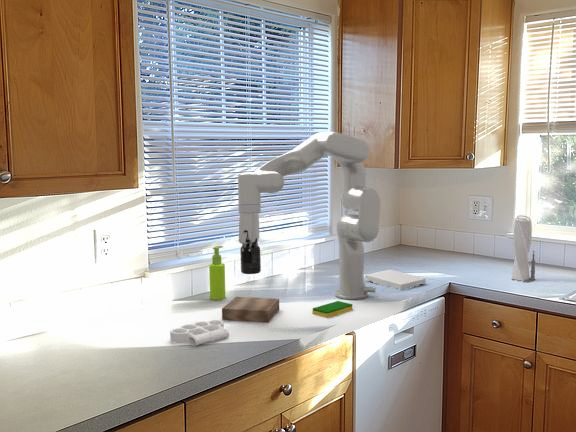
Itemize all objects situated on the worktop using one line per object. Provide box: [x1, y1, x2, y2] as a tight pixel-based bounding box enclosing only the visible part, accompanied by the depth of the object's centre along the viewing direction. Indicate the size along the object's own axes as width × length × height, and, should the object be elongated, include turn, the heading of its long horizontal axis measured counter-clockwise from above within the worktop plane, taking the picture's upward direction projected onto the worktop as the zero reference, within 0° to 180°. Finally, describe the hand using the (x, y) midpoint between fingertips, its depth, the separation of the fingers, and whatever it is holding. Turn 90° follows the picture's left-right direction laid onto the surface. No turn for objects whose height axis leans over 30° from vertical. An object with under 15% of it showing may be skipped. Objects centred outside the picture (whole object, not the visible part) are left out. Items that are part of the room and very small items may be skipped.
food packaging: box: [364, 269, 427, 291], centre depth 252 cm, size 15×3×20 cm
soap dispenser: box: [208, 245, 226, 301], centre depth 230 cm, size 6×7×20 cm
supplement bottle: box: [240, 238, 262, 275], centre depth 205 cm, size 7×7×12 cm
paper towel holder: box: [511, 214, 537, 283], centre depth 254 cm, size 8×8×28 cm
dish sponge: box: [311, 300, 353, 319], centre depth 211 cm, size 7×14×2 cm, turn 135°
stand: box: [221, 296, 280, 324], centre depth 208 cm, size 16×16×4 cm
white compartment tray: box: [169, 319, 230, 347], centre depth 185 cm, size 3×18×15 cm
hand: (250, 260), depth 206 cm, fingers closed on supplement bottle, 6 cm apart
